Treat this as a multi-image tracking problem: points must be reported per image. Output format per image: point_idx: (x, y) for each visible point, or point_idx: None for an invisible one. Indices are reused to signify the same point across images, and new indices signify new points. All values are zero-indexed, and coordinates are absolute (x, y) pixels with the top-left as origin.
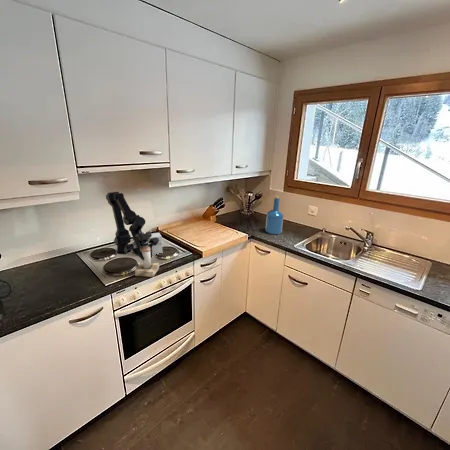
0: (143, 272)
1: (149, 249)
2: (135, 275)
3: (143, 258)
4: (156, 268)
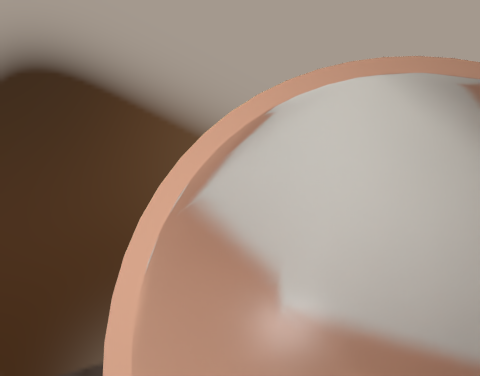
0: None
1: (239, 130)
2: None
3: None
4: None
